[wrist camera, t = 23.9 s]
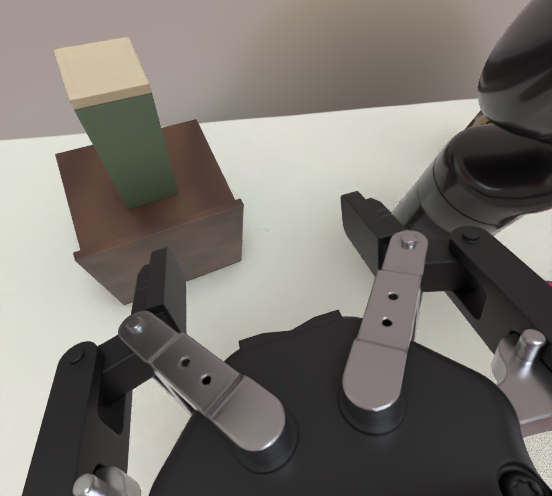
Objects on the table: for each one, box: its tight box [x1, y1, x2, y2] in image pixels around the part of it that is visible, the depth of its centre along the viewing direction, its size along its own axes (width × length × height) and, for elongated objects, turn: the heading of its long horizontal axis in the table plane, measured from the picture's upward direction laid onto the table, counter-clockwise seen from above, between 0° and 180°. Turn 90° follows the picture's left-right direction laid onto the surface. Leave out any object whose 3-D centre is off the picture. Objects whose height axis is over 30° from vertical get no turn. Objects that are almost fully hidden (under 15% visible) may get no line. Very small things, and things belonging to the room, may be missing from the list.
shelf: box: [55, 120, 244, 305], centre depth 38 cm, size 15×14×14 cm
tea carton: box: [54, 37, 178, 209], centre depth 28 cm, size 5×5×13 cm
